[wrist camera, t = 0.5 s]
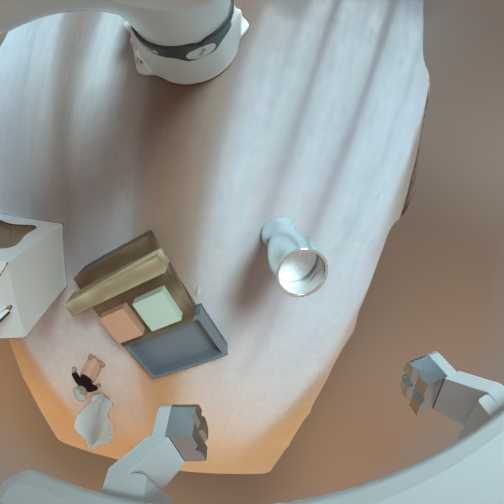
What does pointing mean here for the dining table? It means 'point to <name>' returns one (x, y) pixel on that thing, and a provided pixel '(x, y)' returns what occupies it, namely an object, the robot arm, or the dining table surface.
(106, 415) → the shell sculpture
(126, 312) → the terracotta tile
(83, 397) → the grandmother figurine
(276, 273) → the beer glass
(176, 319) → the sage tile
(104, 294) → the bar
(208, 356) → the box
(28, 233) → the gable box
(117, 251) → the dark wooden square block
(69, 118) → the dining table surface
